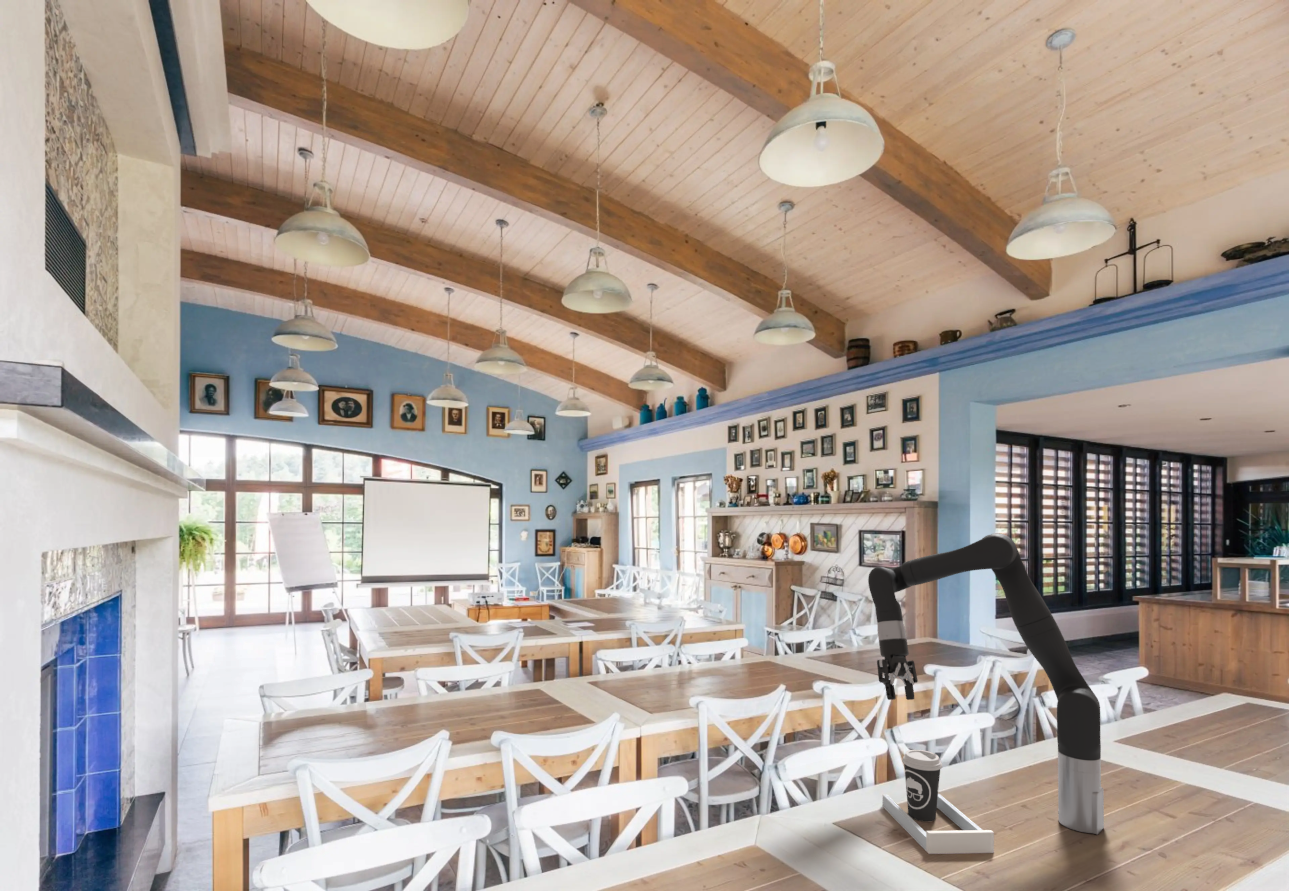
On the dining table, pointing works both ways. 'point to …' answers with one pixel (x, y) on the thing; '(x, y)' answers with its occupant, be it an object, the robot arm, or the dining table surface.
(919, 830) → the white rectangular tray frame
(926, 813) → the coffee cup
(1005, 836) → the dining table surface
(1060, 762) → the robot arm
